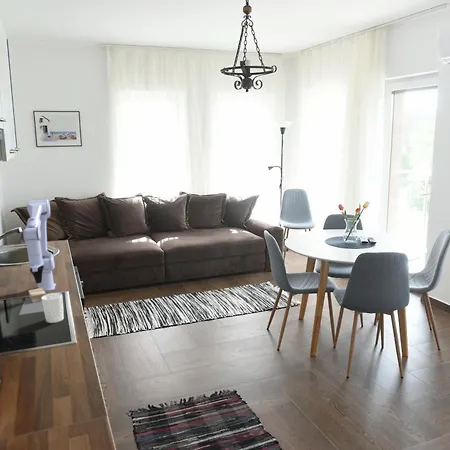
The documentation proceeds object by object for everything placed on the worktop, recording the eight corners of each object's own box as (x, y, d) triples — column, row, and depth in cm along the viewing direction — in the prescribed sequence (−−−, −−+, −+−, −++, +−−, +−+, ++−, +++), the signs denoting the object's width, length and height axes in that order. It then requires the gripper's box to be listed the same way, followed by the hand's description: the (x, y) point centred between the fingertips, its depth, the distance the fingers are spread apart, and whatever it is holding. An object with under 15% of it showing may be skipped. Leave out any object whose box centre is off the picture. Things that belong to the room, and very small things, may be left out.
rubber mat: (26, 298, 214) (25, 297, 214) (57, 294, 217) (57, 293, 217) (19, 315, 193) (18, 314, 193) (54, 310, 197) (54, 309, 196)
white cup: (40, 322, 184) (36, 298, 182) (53, 315, 191) (50, 292, 189) (56, 324, 181) (53, 300, 179) (69, 316, 189) (66, 293, 187)
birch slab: (32, 302, 207) (29, 296, 215) (46, 299, 210) (42, 293, 218) (31, 296, 206) (28, 290, 215) (45, 293, 209) (42, 287, 218)
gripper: (27, 251, 214) (31, 279, 217) (23, 258, 200) (27, 288, 203) (43, 249, 216) (47, 277, 218) (40, 256, 202) (44, 286, 205)
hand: (39, 282), depth 211 cm, fingers closed
